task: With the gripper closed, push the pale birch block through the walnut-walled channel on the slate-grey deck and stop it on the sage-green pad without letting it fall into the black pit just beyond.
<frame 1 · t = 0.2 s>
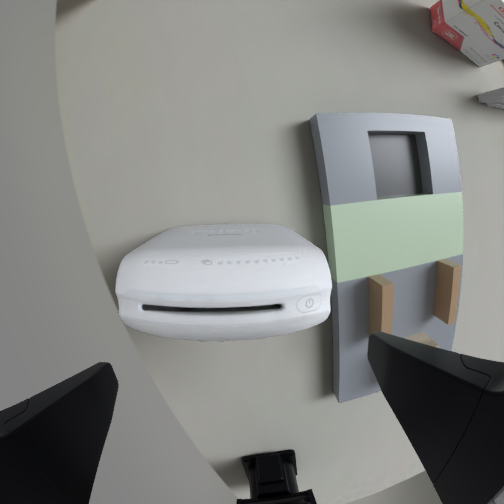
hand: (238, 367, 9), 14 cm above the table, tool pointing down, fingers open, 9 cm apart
ink cartridge box: (455, 38, 19), on the table
photo printer: (227, 248, 23), on the table
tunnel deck: (398, 261, 24), on the table
birch block: (404, 354, 24), point 2 cm above the table, touching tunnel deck
cassette: (499, 103, 21), on the table
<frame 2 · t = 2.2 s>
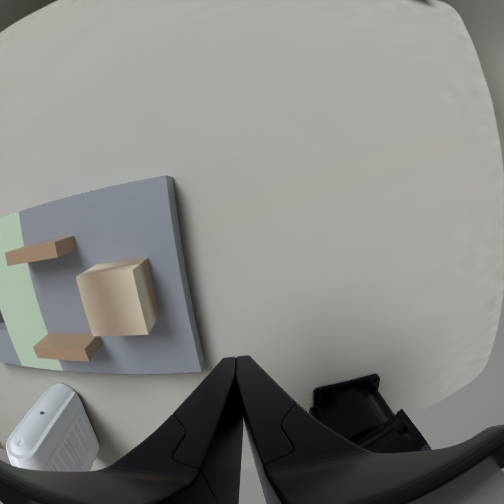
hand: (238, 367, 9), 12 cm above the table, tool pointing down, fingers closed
photo printer: (77, 415, 23), on the table
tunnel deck: (48, 289, 20), on the table
birch block: (127, 289, 18), point 2 cm above the table, touching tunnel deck
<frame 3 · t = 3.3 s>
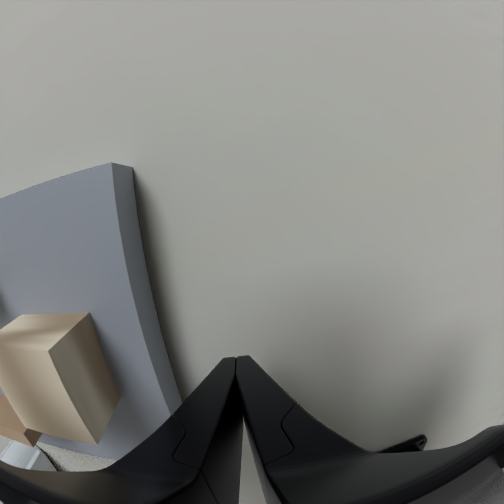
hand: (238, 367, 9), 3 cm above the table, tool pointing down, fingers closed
photo printer: (49, 469, 14), on the table
birch block: (67, 357, 9), point 2 cm above the table, touching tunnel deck
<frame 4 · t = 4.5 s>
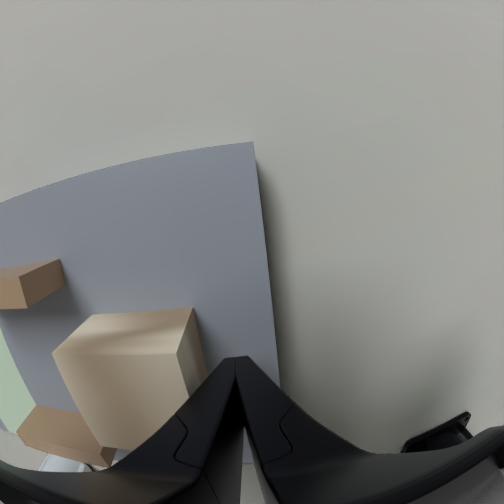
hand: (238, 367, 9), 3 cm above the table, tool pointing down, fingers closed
photo printer: (88, 482, 14), on the table
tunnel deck: (30, 337, 11), on the table
birch block: (152, 359, 10), point 2 cm above the table, touching gripper, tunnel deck
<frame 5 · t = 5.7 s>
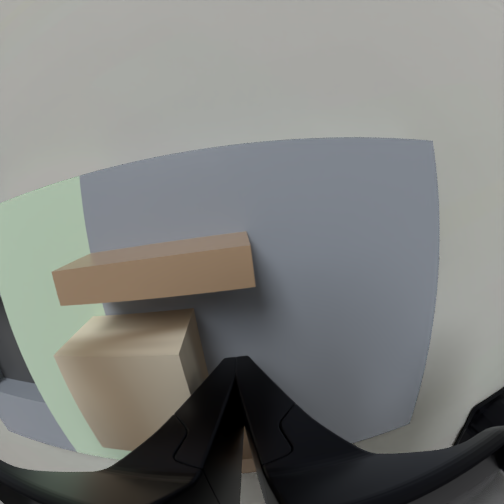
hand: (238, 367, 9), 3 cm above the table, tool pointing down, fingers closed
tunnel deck: (134, 336, 12), on the table
birch block: (153, 360, 10), point 2 cm above the table, touching gripper
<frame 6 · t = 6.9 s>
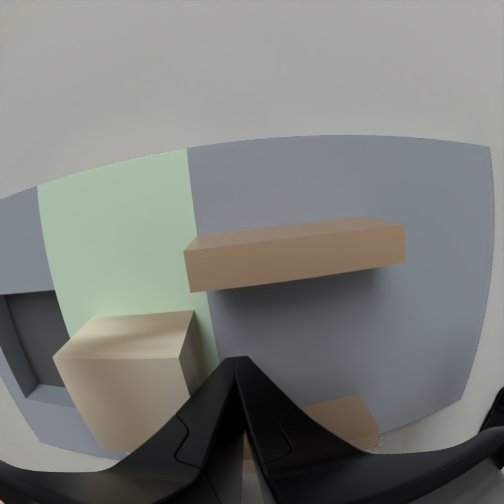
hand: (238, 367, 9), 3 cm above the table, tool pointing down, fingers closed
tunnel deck: (219, 329, 12), on the table
birch block: (152, 362, 10), point 2 cm above the table, touching gripper, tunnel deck
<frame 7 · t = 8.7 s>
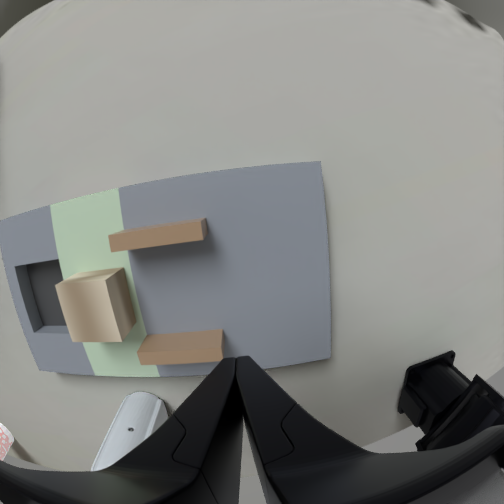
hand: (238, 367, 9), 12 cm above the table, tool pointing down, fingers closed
photo printer: (153, 425, 23), on the table
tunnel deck: (144, 283, 20), on the table
birch block: (105, 297, 18), point 2 cm above the table, touching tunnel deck
beverage cup: (4, 430, 24), on the table
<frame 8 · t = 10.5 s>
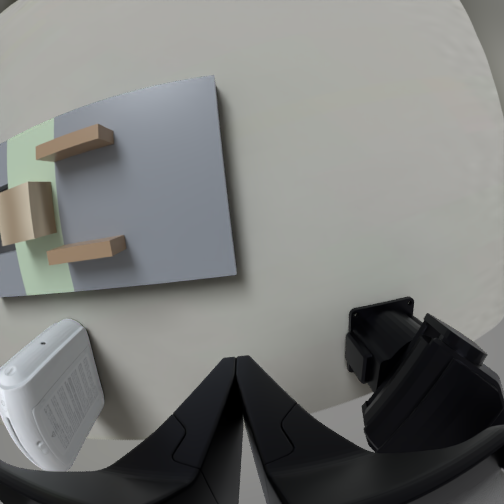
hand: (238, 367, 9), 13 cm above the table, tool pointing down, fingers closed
photo printer: (82, 362, 23), on the table
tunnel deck: (70, 201, 19), on the table
birch block: (36, 211, 17), point 2 cm above the table, touching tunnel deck
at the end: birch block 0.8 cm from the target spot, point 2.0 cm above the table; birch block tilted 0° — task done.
